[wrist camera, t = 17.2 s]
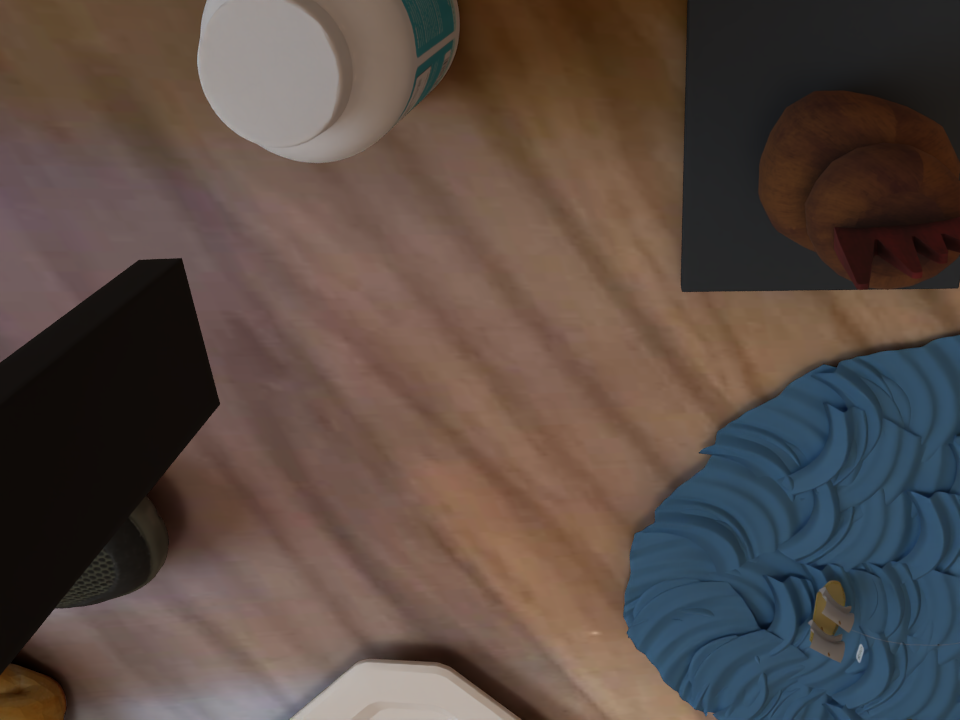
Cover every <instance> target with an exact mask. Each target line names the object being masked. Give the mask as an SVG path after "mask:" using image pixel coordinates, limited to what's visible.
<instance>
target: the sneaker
mask: <svg viewBox="0 0 960 720" xmlns="http://www.w3.org/2000/svg"><path fill="white" fill-rule="evenodd" d="M168 545H169V539H168V533H167V529H166V526H165V524H164V522H163V520H162V518H161V517H159V516H158V515H157V511H156V508H155V507H154V505H153V503H152V502H151V501H150V500H149V499H148V497H147V496H145V497H144V499H143V500H142V501H141V502H140V504H139V505H138V506H137V507H136V509H135V510H134V511H133V512H132V513H131V515H130V516H129V517H128V518H127V520H126V521H125V522H124V523H123V525H122V526H121V527H120V528H119V530H118V531H117V532H116V533H115V534H114V536H113V537H112V538H111V539H110V541H109V542H108V543H107V544H106V546H105V547H104V548H103V549H102V551H101V552H100V553H99V554H98V555H97V557H96V558H95V559H94V560H93V562H92V563H91V564H90V565H89V567H88V568H87V569H86V570H85V571H84V573H83V574H82V575H81V576H80V578H79V579H78V580H77V581H76V583H75V584H74V585H73V586H72V588H71V589H70V590H69V591H68V592H67V594H66V595H65V596H64V597H63V599H62V600H61V601H60V602H59V604H58V605H57V606H56V607H55V608H71V607H81V606H87V605H92V604H97V603H101V602H104V601H107V600H110V599H113V598H117V597H120V596H123V595H127V594H129V593H131V592H134V591H136V590H138V589H140V588H141V587H143V586H145V585H146V584H147V583H149V582H150V581H151V580H152V579H153V578H154V577H155V576H156V574H157V573H158V571H159V570H160V568H161V567H162V566H163V565H164V562H165V560H166V557H167V551H168Z"/></svg>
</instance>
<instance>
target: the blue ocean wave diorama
mask: <svg viewBox="0 0 960 720" xmlns="http://www.w3.org/2000/svg"><path fill="white" fill-rule="evenodd" d="M699 453H701V454H709V455H712V456H711V457H710V459H709V461H708V463H707V465H706V466H705V468H704V469H702V470H701V471H699V472H698V473H697V474H695V475H694V476H693V477H692V478H691V479H689V480H688V481H686V482H685V483H683V484H682V485H680V486H679V487H678V488H677V489H676V490H675V491H674V492H673V493H672V494H671V495H670V496H669V497H668V498H666V499H665V500H664V501H663V502H662V504H661V505H660V506H659V507H657V509H656V510H655V523H654V524H651V525H650V526H648V527H646V528H645V529H644V530H642V531H640V532H638V533H635V535H634V540H633V543H632V547H631V551H630V567H631V575H630V579H629V582H628V586H627V588H626V591H625V606H624V614H623V616H624V619H625V621H626V623H627V625H628V627H629V629H628V631H627V634H628V638H629V637H630V638H631V640H632V641H633V643H634V645H635V647H636V648H637V650H639V651H640V652H642V653H644V654H645V655H646V656H647V658H648V659H649V661H650V662H651V663H652V664H653V665H654V666H655V667H656V668H657V669H658V671H659V672H660V675H661V677H662V679H663V681H664V682H665V683H666V684H667V685H669V686H670V687H671V688H672V689H673V690H675V691H677V692H678V693H679V695H680V697H681V699H682V700H684V701H686V702H688V703H689V704H690V705H691V706H692V707H693V708H694V709H696V710H700V711H703V712H704V713H705V716H706V715H707V712H713V713H714V714H713V715H714V716H715V717H716V718H717V719H718V720H960V335H957V336H953V337H945V338H940V339H936V340H933V341H931V342H929V343H928V344H927V345H925V346H923V347H918V348H909V349H902V350H893V351H883V352H878V353H874V354H871V355H867V356H857V357H855V358H853V359H849V360H844V361H841V362H839V364H838V366H837V367H833V366H829V365H825V364H823V365H822V366H820V367H818V368H816V369H814V370H812V371H810V372H808V373H807V374H805V375H804V376H802V377H800V378H798V379H796V380H795V381H793V382H791V383H790V384H789V385H788V386H787V387H786V388H785V389H784V390H783V392H782V393H781V394H780V395H779V396H777V397H775V398H773V399H771V400H769V401H767V402H766V403H764V404H762V405H760V406H758V407H756V408H754V409H751V410H749V411H747V412H746V413H744V414H743V415H741V416H740V417H739V418H738V419H736V420H734V421H732V422H730V423H729V424H728V425H727V426H725V427H724V428H722V429H721V430H719V431H718V432H717V436H716V442H715V445H713V446H709V447H706V448H704V449H702V450H701V451H700V452H699Z"/></svg>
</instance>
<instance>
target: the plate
mask: <svg viewBox="0 0 960 720" xmlns="http://www.w3.org/2000/svg"><path fill="white" fill-rule="evenodd" d="M289 720H521V719H520V718H519V717H517V716H516V715H515V714H513V713H512V712H511V711H509V710H508V709H507V708H505V707H504V706H503V705H501V704H500V703H499V702H497V701H496V700H494V699H493V698H492V697H490V696H489V695H488V694H486V693H485V692H484V691H482V690H481V689H480V688H478V687H477V686H476V685H474V684H473V683H471V682H470V681H469V680H467V679H466V678H465V677H463V676H462V675H461V674H459V673H458V672H457V671H455V670H454V669H453V668H451V667H450V666H447V665H444V664H441V663H438V662H424V661H406V660H387V659H369V658H368V659H365V660H361V661H358V662H356V663H355V664H354V665H353V666H352V667H351V668H349V669H348V670H347V671H346V672H345V673H343V674H342V675H341V676H340V677H339V678H338V679H336V680H335V681H334V682H333V683H332V684H331V685H329V686H328V687H327V688H326V689H325V690H323V691H322V692H321V693H320V694H319V695H318V696H316V697H315V698H314V699H313V700H312V701H311V702H309V703H308V704H307V705H306V706H305V707H303V708H302V709H301V710H300V711H299V712H298V713H296V714H295V715H294V716H293V717H292V718H290V719H289Z"/></svg>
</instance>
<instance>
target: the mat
mask: <svg viewBox="0 0 960 720" xmlns="http://www.w3.org/2000/svg"><path fill="white" fill-rule="evenodd" d="M840 90H844V91H850V92H855V93H861V94H866V95H871V96H875V97H879V98H882V99H885V100H888V101H891V102H894V103H897V104H900V105H904V106H907V107H909V108H911V109H913V110H915V111H916V112H918V113H920V114H922V115H924V116H926V117H928V118H930V119H932V120H934V121H935V122H937V123H938V124H939V125H941V126H942V127H943V128H944V130H945V132H946V134H947V136H948V138H949V140H950V143H951V145H952V147H953V149H954V151H955V153H956V155H957V158H958V160H959V162H960V0H688V3H687V45H686V87H685V129H684V172H683V214H682V256H681V289H682V292H709V291H789V290H859V289H857V288H856V287H855V285H854V284H853V282H852V281H850V280H848V279H846V278H844V277H842V276H839V275H838V274H837V273H836V272H834V271H833V270H832V269H831V268H830V267H829V266H828V265H827V264H825V263H824V262H823V261H822V260H821V258H820V257H819V256H818V254H817V252H814V251H812V250H809V249H807V248H805V247H803V246H801V245H799V244H798V243H796V242H794V241H793V240H791V239H789V238H788V237H786V236H784V235H783V234H781V233H779V232H778V231H777V230H776V229H775V228H774V227H773V226H772V224H771V222H770V220H769V217H768V215H767V213H766V211H765V209H764V207H763V205H762V203H761V201H760V198H759V194H758V188H759V164H760V159H761V156H762V153H763V150H764V148H765V145H766V142H767V140H768V137H769V135H770V132H771V130H772V129H773V127H774V126H775V124H776V123H777V121H778V120H779V118H780V116H781V115H782V113H783V112H784V110H785V109H786V107H788V106H790V105H791V104H793V103H795V102H796V101H798V100H800V99H802V98H803V97H805V96H807V95H808V94H810V93H812V92H814V91H840ZM959 181H960V173H959ZM959 282H960V254H959V256H958V259H956V260H955V261H954V262H953V263H951V264H950V265H949V266H948V267H946V268H945V269H944V270H943V271H941V272H940V273H939V274H938V275H936V276H934V277H932V278H930V279H927V280H925V281H922V282H920V283H918V284H915V285H913V286H909V287H902V288H895V289H947V288H958V287H959ZM868 289H875V288H868ZM868 289H864V290H868Z"/></svg>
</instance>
